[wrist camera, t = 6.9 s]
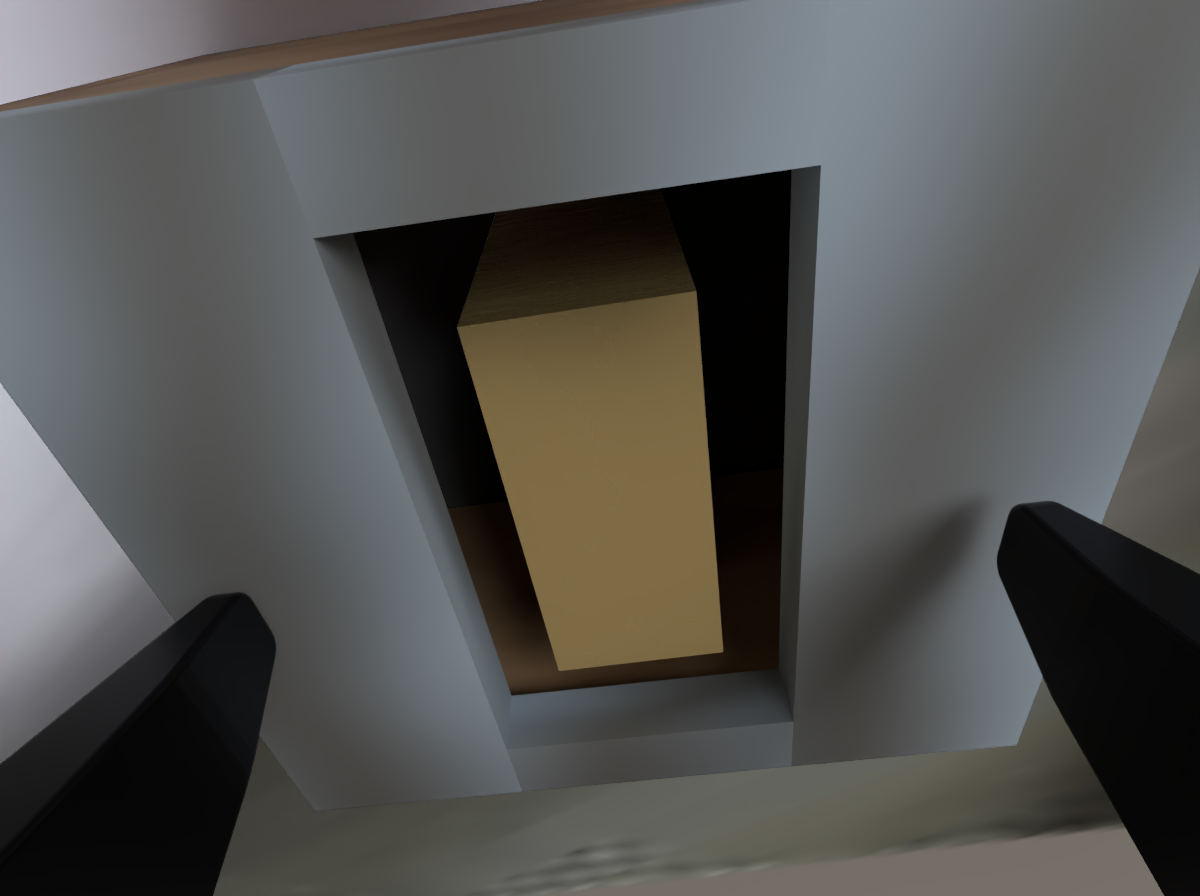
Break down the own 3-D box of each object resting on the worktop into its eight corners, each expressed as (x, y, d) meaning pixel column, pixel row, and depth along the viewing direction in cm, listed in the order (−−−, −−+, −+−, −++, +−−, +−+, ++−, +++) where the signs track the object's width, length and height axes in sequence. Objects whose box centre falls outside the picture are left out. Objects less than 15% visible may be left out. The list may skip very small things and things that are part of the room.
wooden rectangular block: (647, 152, 13) (696, 291, 7) (675, 423, 16) (723, 651, 11) (508, 175, 13) (455, 327, 7) (566, 439, 16) (558, 671, 11)
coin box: (935, -64, 11) (1336, -92, 5) (870, 483, 17) (1016, 744, 11) (202, 55, 11) (-173, 147, 6) (400, 538, 18) (315, 810, 12)
